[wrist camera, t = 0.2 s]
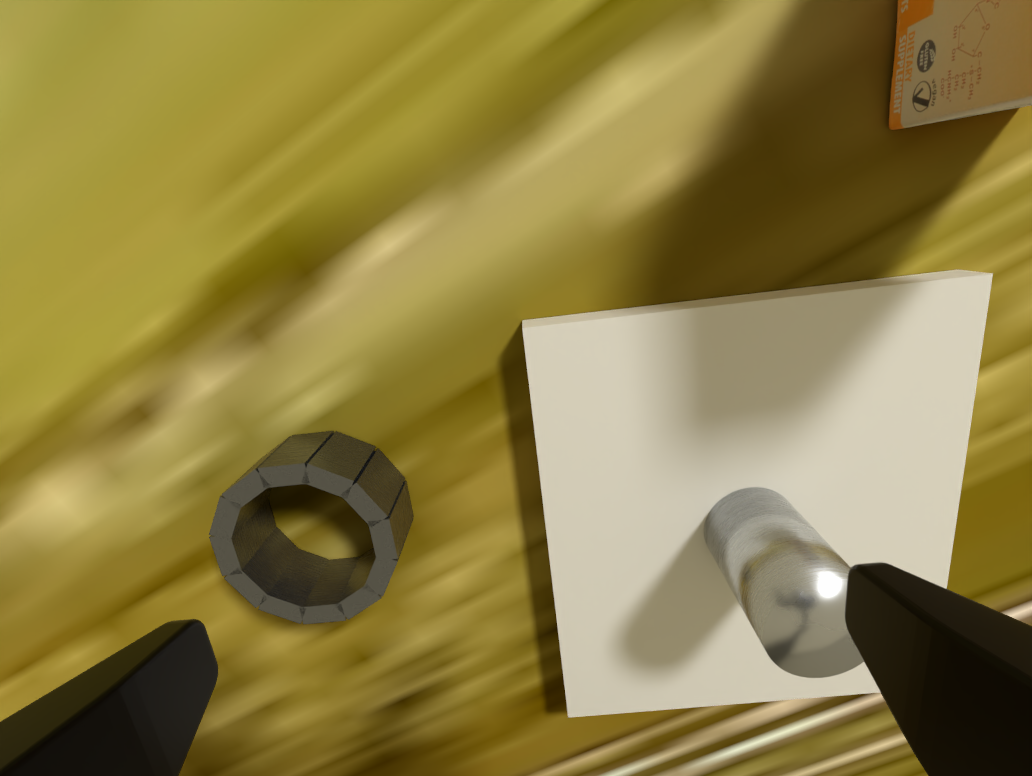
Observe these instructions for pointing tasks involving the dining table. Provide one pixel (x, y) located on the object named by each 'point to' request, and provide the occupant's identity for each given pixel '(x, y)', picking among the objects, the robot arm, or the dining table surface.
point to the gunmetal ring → (296, 573)
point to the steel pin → (784, 581)
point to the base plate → (741, 467)
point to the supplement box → (960, 59)
